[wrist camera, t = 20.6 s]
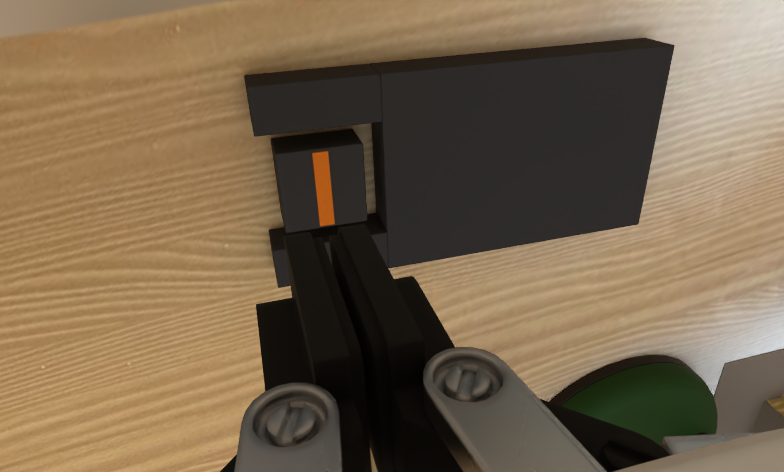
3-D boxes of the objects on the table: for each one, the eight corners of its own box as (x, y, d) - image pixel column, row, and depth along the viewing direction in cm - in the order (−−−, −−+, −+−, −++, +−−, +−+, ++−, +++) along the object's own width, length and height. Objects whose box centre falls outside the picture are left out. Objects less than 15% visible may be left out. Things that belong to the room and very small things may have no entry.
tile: (270, 138, 37) (274, 154, 35) (352, 128, 39) (363, 143, 36) (281, 213, 40) (286, 234, 37) (357, 201, 41) (368, 221, 39)
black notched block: (274, 265, 42) (278, 288, 39) (244, 75, 35) (246, 87, 32) (614, 208, 48) (638, 224, 46) (644, 37, 42) (675, 44, 39)
